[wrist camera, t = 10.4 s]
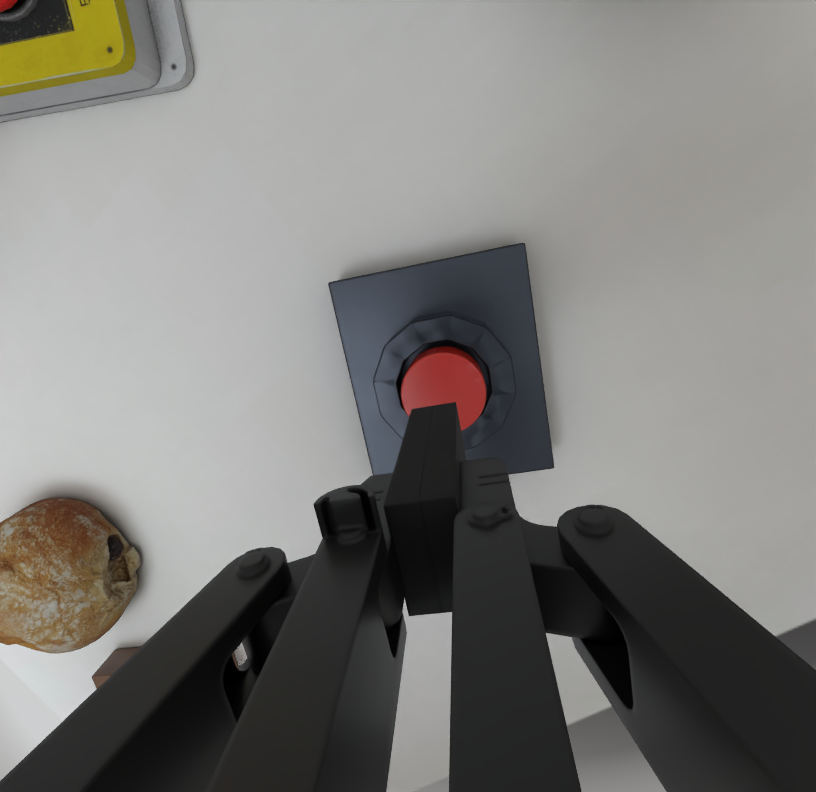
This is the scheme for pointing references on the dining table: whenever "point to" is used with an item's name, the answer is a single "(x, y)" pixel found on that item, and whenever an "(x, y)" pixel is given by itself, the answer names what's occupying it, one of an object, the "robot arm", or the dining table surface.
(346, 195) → the dining table surface
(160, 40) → the emergency button
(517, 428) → the button box
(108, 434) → the dining table surface
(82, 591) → the bread roll
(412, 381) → the button
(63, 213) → the dining table surface
